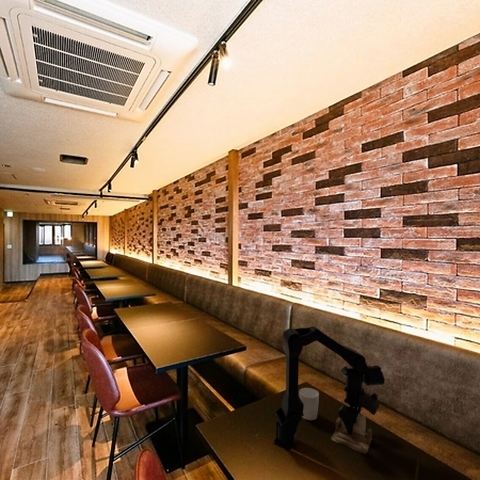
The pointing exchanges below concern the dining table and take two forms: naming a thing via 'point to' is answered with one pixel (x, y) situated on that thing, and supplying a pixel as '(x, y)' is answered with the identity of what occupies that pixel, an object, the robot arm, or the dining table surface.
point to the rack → (353, 436)
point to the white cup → (309, 403)
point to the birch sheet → (358, 426)
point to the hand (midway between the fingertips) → (353, 427)
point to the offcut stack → (349, 441)
